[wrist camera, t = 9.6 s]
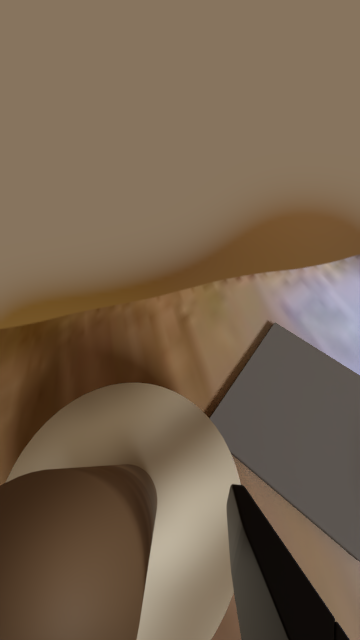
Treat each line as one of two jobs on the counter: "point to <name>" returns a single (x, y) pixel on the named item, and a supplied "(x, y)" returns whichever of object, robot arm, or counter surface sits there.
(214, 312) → the counter surface
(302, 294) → the counter surface
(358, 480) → the mat
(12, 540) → the lid
